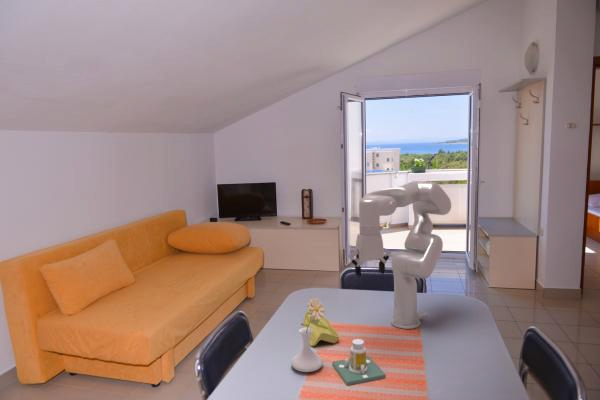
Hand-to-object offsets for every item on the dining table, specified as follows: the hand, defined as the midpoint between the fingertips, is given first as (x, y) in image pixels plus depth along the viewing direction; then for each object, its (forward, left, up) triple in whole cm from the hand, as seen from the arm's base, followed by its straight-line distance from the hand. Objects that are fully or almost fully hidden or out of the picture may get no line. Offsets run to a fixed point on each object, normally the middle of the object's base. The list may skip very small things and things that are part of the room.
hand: (370, 274), depth 168 cm
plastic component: (+16, -14, -29) cm, 36 cm away
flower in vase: (+28, +8, -28) cm, 41 cm away
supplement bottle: (+13, +17, -27) cm, 34 cm away
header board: (+13, +17, -28) cm, 35 cm away
